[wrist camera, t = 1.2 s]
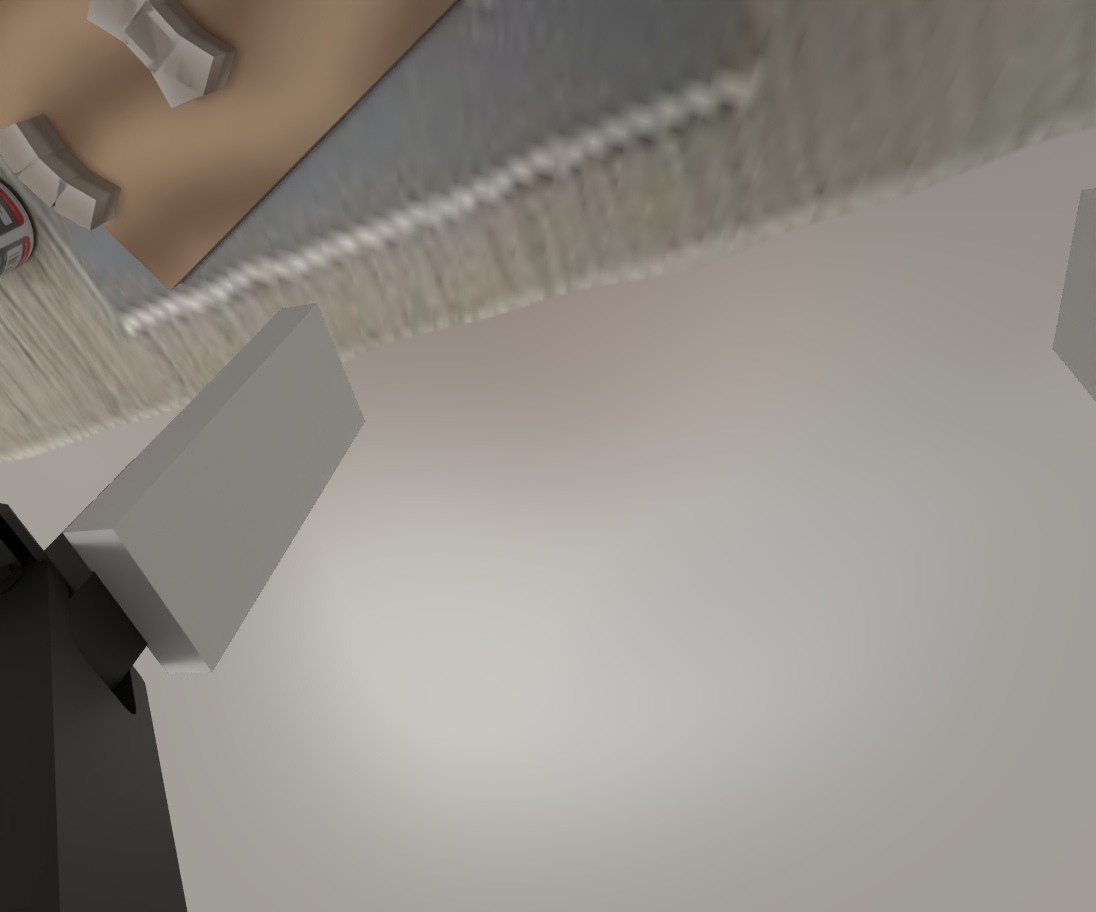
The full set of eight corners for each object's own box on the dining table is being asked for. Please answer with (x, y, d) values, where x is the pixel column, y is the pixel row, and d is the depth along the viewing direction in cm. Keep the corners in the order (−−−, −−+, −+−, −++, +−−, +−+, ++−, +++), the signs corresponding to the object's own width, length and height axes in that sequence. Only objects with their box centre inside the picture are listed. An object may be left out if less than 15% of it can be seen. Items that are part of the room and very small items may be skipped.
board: (-54, 60, 37) (-106, 70, 34) (200, -371, 27) (151, -399, 24) (180, 282, 42) (149, 305, 40) (466, -7, 32) (448, 0, 30)
